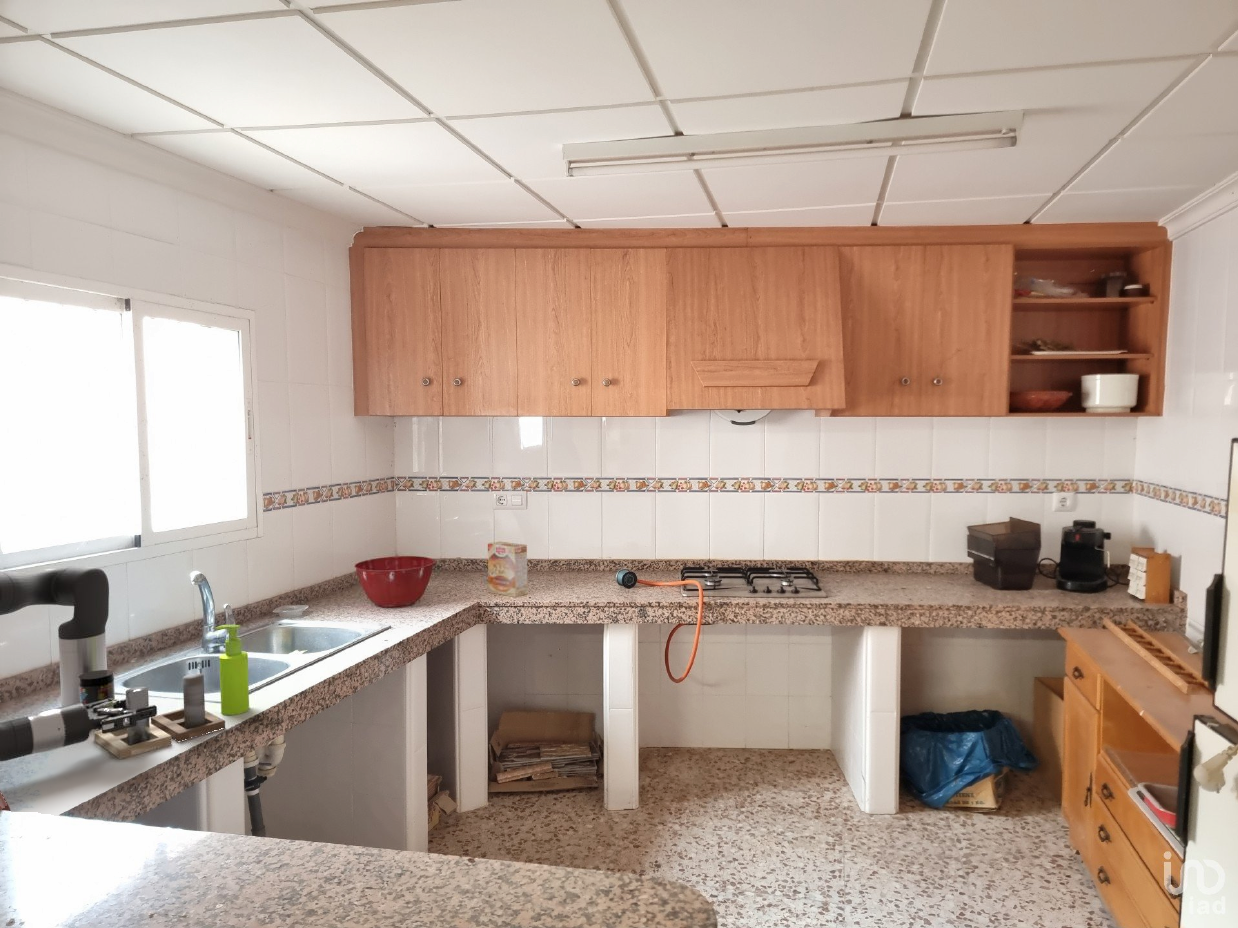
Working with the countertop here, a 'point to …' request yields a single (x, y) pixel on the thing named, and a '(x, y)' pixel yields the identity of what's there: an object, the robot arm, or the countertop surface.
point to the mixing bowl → (395, 579)
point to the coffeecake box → (507, 568)
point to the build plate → (124, 750)
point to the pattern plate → (189, 713)
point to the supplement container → (96, 686)
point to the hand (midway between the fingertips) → (148, 705)
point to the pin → (142, 730)
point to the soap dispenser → (233, 675)
